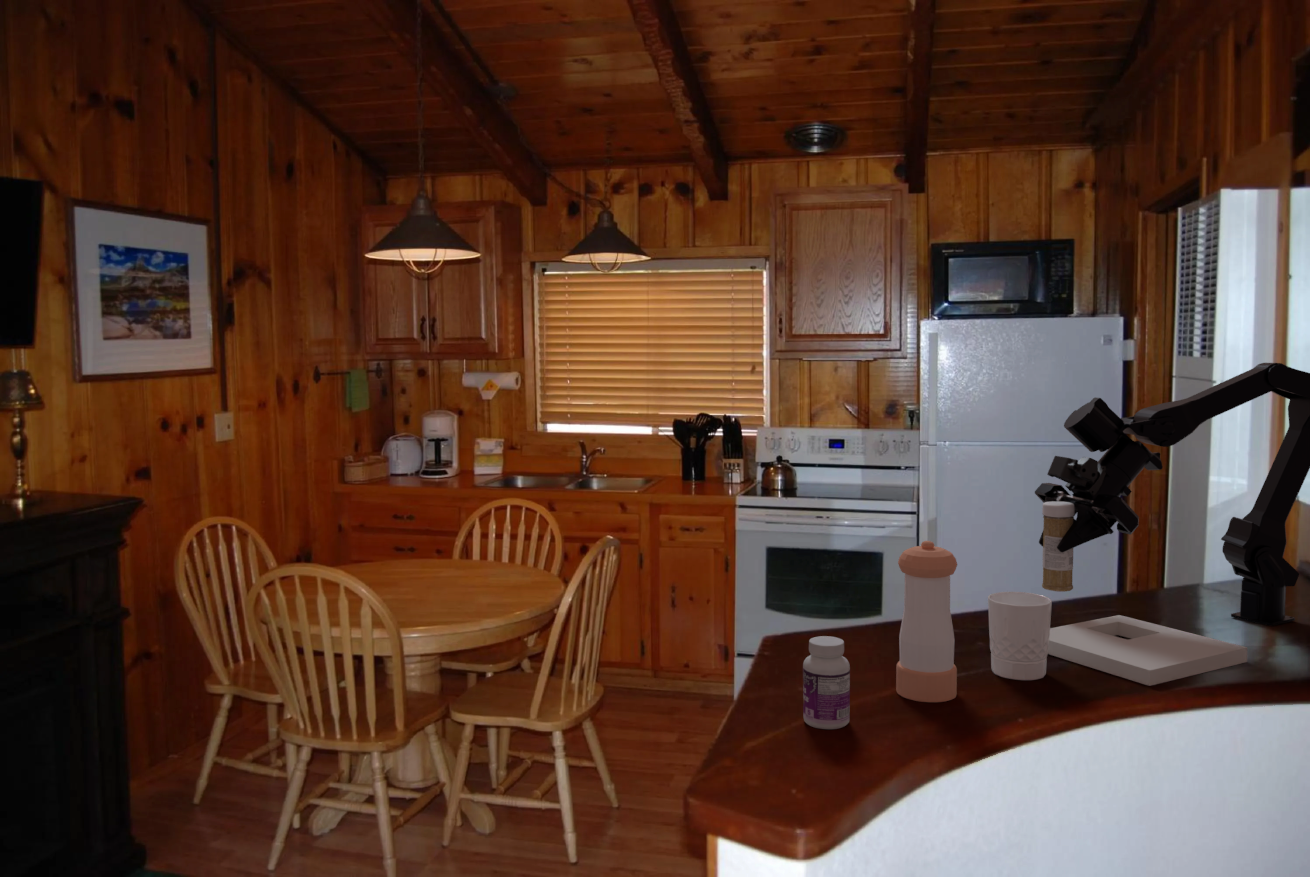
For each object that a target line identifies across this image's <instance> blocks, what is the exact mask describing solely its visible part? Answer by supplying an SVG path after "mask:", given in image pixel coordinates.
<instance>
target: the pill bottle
mask: <svg viewBox="0 0 1310 877" xmlns="http://www.w3.org/2000/svg"><path fill="white" fill-rule="evenodd" d="M808 652H809V653H810V655H807V657H805V659H804V660H803V663H802V690H803V691H802V694H803V695H802V698H803V699H802V702H803V703H802V705H803V706H802V709H803V710H802V711H803V712H802V713H803V716H802V717H803V721H804V722H805V724H806V725H808V726H810V727H813V728H815V729H821V730H837V729H839V730H840V729H841V728H844V727H845V726H847V725H848V724H849V723H850V718H851V717H850V713H851V712H850V707H851V706H850V704H851V703H850V702H851V701H850V697H851V696H850V695H851V691H850V690H851V689H850V688H851V685H850V684H851V666H850V662H849V660H848V659H847V657H845V656H843V655H844V653H845V641H844V640H843V639H842V638H840V637H836V636H830V635H829V636H827V635H822V636H821V635H820V636H815V637H811V638H810V639H809V640H808Z"/></svg>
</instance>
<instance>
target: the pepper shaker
mask: <svg viewBox="0 0 1310 877" xmlns="http://www.w3.org/2000/svg"><path fill="white" fill-rule="evenodd" d="M897 564H898V567H899V569H900V571H901V572H902V574H904V596H903V597H904V602H903V605H904V606H903V611H902V612H903V613H902V619H901V624H900V630H899V635H898V638H899V639H898V641H899V642H898V644H899V646H898V648H899V661H897V663H896V665H895V666H896V669H895V670H896V671H895V674H896V676H895V677H896V678H895V679H896V683H895V688H896V689H895V690H896V693H897V694H898V695H899V696H901V698H905V699H907V700H911V701H914V702H915V701H916V702H921V703H943V702H947V701H952V700H953V699H955V698H956V697H957V694H958V693H957V690H958V689H957V687H958V684H957V682H958V680H957V679H958V678H957V677H958V668H957V666H956V665H955V664H954V662H955V661H954V660H955V632H954V626H953V621H952V613H951V576H952V575H954V573H955V571H956V570H957V567H958V562H957V558H956V556H955V555H954V554H953V552H951V551H950V550H947V549H945V548H944V547H942V546H941V547H939V546H935V543H934V541H931V540H924V541H922V542H921V543H920V545H915V546H912V547H909V548H907V549H905V550H903V552H901V554H900V556H899V558H898V561H897Z"/></svg>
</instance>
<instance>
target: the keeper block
mask: <svg viewBox="0 0 1310 877" xmlns="http://www.w3.org/2000/svg"><path fill="white" fill-rule="evenodd" d="M1119 636H1120V637H1119ZM1122 637H1124V638H1122ZM1048 655H1050V656H1052V657H1053V656H1054V657H1055V658H1060V659H1063V660H1066V661H1069V662H1073V663H1075V664H1079V665H1082V666H1085V667H1088V668H1092V669H1095V670H1097V671H1101V672H1104V673H1107V674H1111V675H1113V676H1117V677H1120V678H1123V679H1126V680H1130V681H1133V682H1136V683H1138V684H1142V685H1145V686H1156V685H1159V684H1164V683H1167V682H1170V681H1175V680H1179V679H1183V678H1187V677H1192V676H1196V675H1200V674H1202V673H1203V674H1204V673H1207V672H1212V671H1215V670H1219V669H1224V668H1228V667H1231V666H1236V665H1240V664H1244V663H1247V662H1248V647H1247V646H1243V645H1240V644H1237V643H1236V644H1235V643H1232V642H1228V641H1222V640H1220V639H1215V638H1211V637H1208V636H1203V635H1200V634H1195V633H1191V632H1188V631H1183V630H1180V629H1176V628H1172V627H1168V626H1164V625H1161V624H1156V623H1153V622H1148V621H1145V620H1140V619H1136V618H1133V617H1129V616H1126V615H1125V616H1124V615H1120V614H1116V615H1113V616H1108V617H1101V618H1097V619H1091V620H1086V621H1081V622H1076V623H1071V624H1066V625H1060V626H1056V627H1050V636H1049V644H1048Z"/></svg>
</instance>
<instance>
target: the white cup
mask: <svg viewBox="0 0 1310 877" xmlns="http://www.w3.org/2000/svg"><path fill="white" fill-rule="evenodd" d="M987 602H988V603H987V604H988V605H987V606H988V630H989V631H988V633H989V649H990V652H991V653H990V667H991V669H990V670H991V671H992V673H993V674H994V675H996V676H999V677H1001V678H1004V679H1008V680H1009V679H1010V680H1016V681H1036V680H1040V679H1044V677H1046V674H1047V660H1048V658H1047V657H1048V655H1049V654H1048V644H1049V636H1050V628H1051V618H1052V617H1051V616H1052V604H1053V603H1052V602H1053V600H1052V599H1051V598H1049V597H1048V596H1044V595H1042V594H1037V593H1033V592H1026V591H1025V592H1023V591H1022V592H1021V591H1000V592H995V593H991V594H989V595H988V596H987Z"/></svg>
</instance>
